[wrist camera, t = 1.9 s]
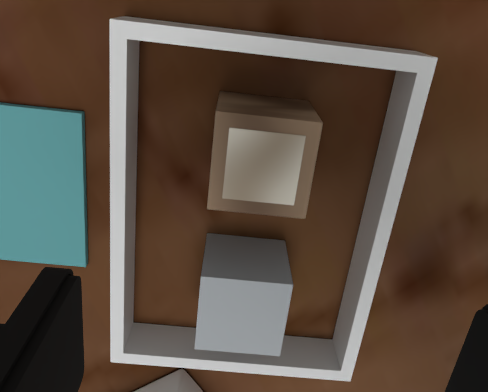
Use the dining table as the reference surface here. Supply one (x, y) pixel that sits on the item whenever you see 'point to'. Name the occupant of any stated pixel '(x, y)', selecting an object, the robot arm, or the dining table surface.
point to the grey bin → (371, 225)
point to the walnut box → (263, 155)
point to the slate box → (243, 295)
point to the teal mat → (43, 185)
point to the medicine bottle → (172, 383)
